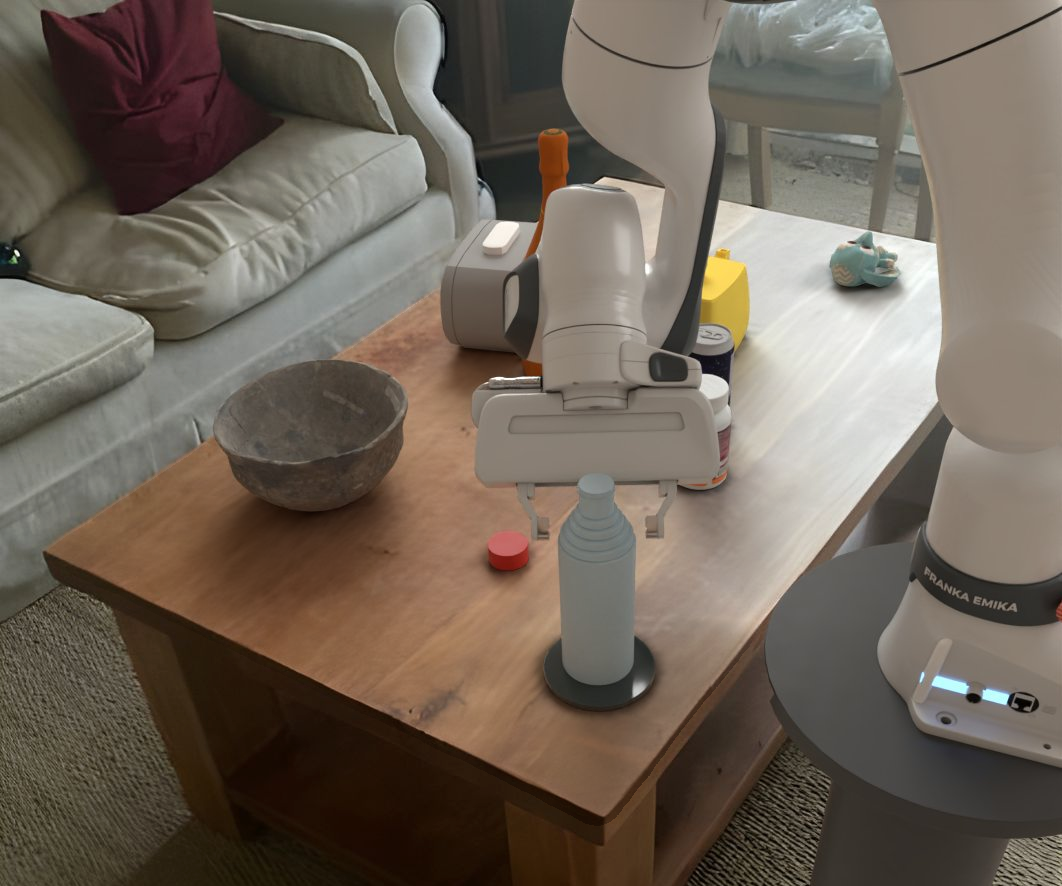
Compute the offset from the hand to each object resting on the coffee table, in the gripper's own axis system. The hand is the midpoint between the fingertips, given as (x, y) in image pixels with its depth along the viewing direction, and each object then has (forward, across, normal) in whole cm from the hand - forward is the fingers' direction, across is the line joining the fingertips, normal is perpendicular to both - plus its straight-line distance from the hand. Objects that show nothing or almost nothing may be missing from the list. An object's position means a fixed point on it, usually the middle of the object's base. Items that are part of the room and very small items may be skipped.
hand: (597, 539), depth 91 cm
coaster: (+11, 0, +9) cm, 14 cm away
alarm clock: (-34, -12, +54) cm, 65 cm away
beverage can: (-17, +13, +37) cm, 42 cm away
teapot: (-31, +13, +51) cm, 61 cm away
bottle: (+10, 0, +9) cm, 13 cm away
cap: (-2, -9, +19) cm, 21 cm away
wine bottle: (-26, -4, +46) cm, 53 cm away
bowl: (-10, -30, +30) cm, 43 cm away
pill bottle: (-10, +11, +30) cm, 33 cm away
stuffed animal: (-43, +38, +63) cm, 85 cm away
